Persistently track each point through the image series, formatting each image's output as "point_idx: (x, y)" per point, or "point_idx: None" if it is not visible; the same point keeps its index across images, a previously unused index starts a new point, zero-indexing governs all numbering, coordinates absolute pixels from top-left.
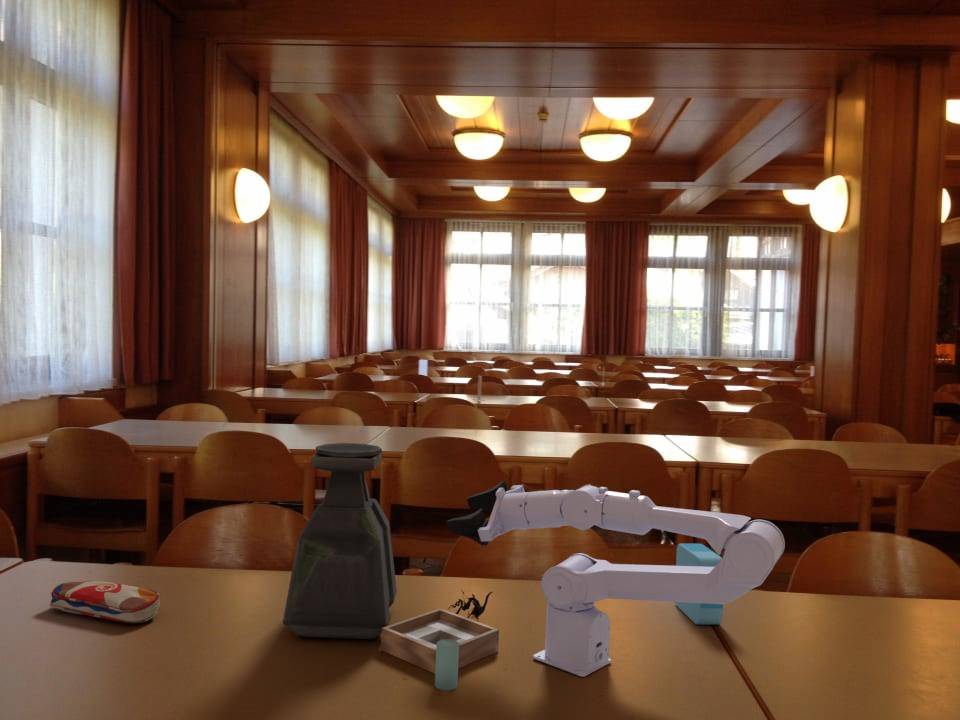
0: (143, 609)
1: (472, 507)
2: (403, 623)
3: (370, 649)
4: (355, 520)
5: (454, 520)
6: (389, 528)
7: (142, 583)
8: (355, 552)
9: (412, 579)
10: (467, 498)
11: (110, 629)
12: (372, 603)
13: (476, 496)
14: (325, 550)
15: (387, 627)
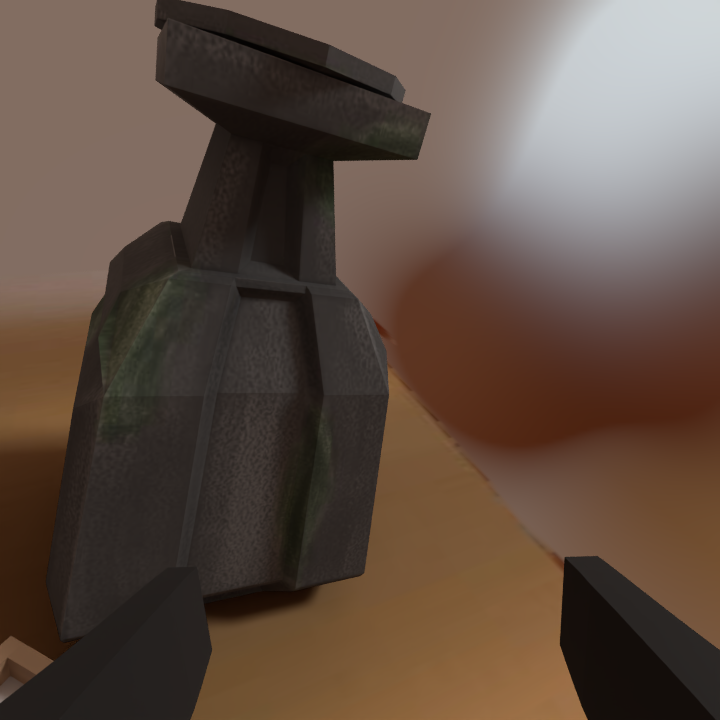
0: None
1: (573, 657)
2: None
3: (28, 642)
4: (124, 284)
5: (98, 626)
6: (378, 412)
7: None
8: (83, 378)
9: (541, 574)
10: (573, 559)
11: None
12: (51, 550)
13: (629, 636)
14: (93, 329)
15: (12, 653)
